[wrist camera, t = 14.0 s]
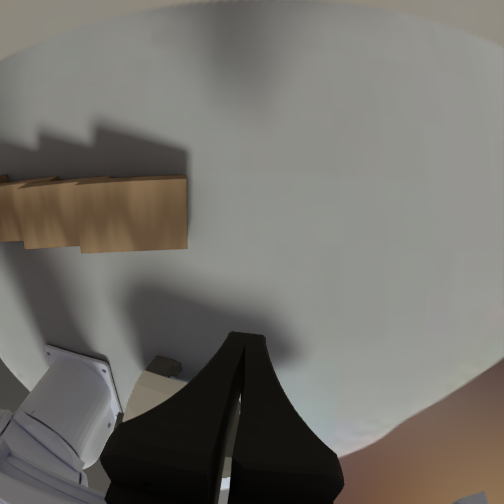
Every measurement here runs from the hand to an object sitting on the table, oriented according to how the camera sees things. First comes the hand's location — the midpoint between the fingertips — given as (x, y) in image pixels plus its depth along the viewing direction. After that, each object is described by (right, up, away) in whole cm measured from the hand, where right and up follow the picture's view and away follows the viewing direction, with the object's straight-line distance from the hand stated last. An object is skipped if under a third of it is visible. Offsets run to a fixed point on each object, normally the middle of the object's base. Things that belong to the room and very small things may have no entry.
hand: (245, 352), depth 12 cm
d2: (-9, +7, +8) cm, 14 cm away
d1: (-4, +7, +8) cm, 11 cm away
